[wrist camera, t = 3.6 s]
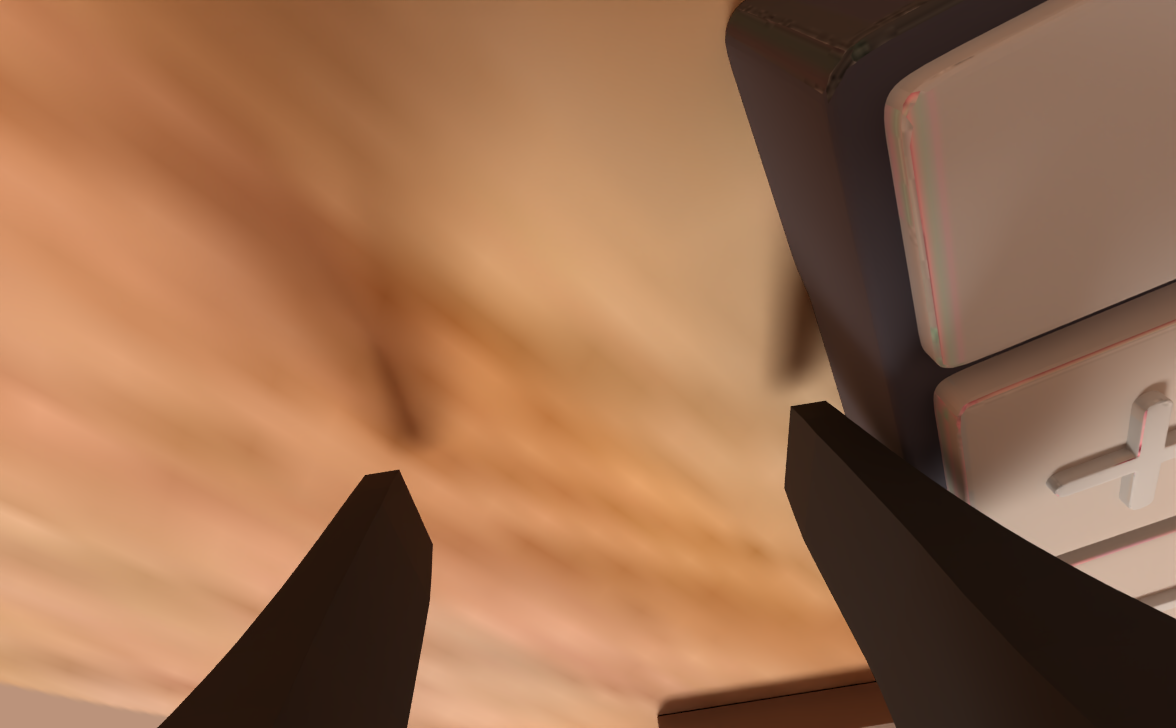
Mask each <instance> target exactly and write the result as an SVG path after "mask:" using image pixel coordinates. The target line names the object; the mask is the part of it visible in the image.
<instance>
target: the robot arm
mask: <svg viewBox="0 0 1176 728" xmlns="http://www.w3.org/2000/svg"><path fill="white" fill-rule="evenodd" d="M784 488H785V491H786V494H787V497H788V499H789V502H790V505H791V508H792V510H793V513H794V516H795V519H796V521H797V524H798V526H799V529H800V531H801V534H802V537H803V539H804V541H805V543H806V545H807V547H808V549H809V551H810V553H811V555H812V557H813V559H814V561H815V563H816V565H817V567H818V569H819V571H820V573H821V575H822V576H823V578H824V580H825V582H826V584H827V586H828V588H829V590H830V592H831V594H832V596H833V597H834V599H835V601H836V603H837V605H838V607H839V609H840V611H841V613H842V615H843V617H844V618H845V620H846V622H847V624H848V626H849V628H850V630H851V632H852V634H853V636H854V637H855V639H856V641H857V643H858V645H859V647H860V649H861V651H862V653H863V655H864V657H865V658H866V660H867V663H868V665H869V667H870V669H871V671H872V673H873V675H874V677H875V679H876V681H877V684H878V686H879V688H880V690H881V693H882V695H883V697H884V700H885V702H886V705H887V707H888V709H889V712H890V714H891V717H892V719H893V722H894V724H895V726H896V728H1176V619H1175V618H1173V617H1171V616H1169V615H1167V614H1165V613H1163V612H1161V611H1159V610H1157V609H1155V608H1153V607H1151V606H1149V605H1147V604H1145V603H1143V602H1141V601H1139V600H1137V599H1135V598H1133V597H1131V596H1129V595H1127V594H1125V593H1123V592H1121V591H1119V590H1117V589H1115V588H1113V587H1111V586H1109V585H1107V584H1105V583H1103V582H1101V581H1099V580H1097V579H1096V578H1094V577H1092V576H1090V575H1088V574H1086V573H1084V572H1082V571H1080V570H1079V569H1077V568H1075V567H1073V566H1072V565H1070V564H1068V563H1066V562H1064V561H1063V560H1061V559H1059V558H1057V557H1055V556H1054V555H1052V554H1050V553H1048V552H1047V551H1045V550H1043V549H1041V548H1039V547H1038V546H1036V545H1034V544H1032V543H1031V542H1029V541H1027V540H1025V539H1024V538H1022V537H1020V536H1019V535H1017V534H1015V533H1014V532H1012V531H1010V530H1009V529H1007V528H1005V527H1004V526H1002V525H1001V524H999V523H997V522H996V521H994V520H993V519H991V518H990V517H988V516H986V515H985V514H983V513H982V512H980V511H979V510H977V509H975V508H974V507H972V506H971V505H969V504H968V503H966V502H964V501H963V500H961V499H960V498H958V497H957V496H955V495H954V494H952V493H951V492H949V491H948V490H947V489H945V488H944V487H942V486H941V485H939V484H938V483H936V482H935V481H933V480H932V479H930V478H929V477H928V476H926V475H925V474H923V473H922V472H921V471H919V470H918V469H916V468H915V467H914V466H912V465H911V464H909V463H908V462H907V461H905V460H904V459H902V458H901V457H900V456H898V455H897V454H896V453H894V452H893V451H892V450H890V449H889V448H888V447H886V446H885V445H883V444H882V443H881V442H879V441H878V440H877V439H875V438H874V437H873V436H871V435H870V434H869V433H868V432H866V431H865V430H864V429H862V428H861V427H860V426H858V425H857V424H856V423H854V422H853V421H852V420H850V419H849V418H848V417H846V416H845V415H844V414H843V413H841V412H840V411H839V410H837V409H836V408H835V407H833V406H832V405H831V404H829V403H828V402H826V401H821V402H815V403H809V404H802V405H796V406H791V410H790V423H789V435H788V448H787V461H786V473H785V486H784ZM432 551H433V544H432V542H431V539H430V537H429V535H428V533H427V531H426V528H425V526H424V524H423V522H422V519H421V517H420V515H419V513H418V510H417V508H416V506H415V504H414V502H413V499H412V497H411V495H410V493H409V490H408V488H407V486H406V484H405V481H404V479H403V477H402V475H401V473H400V470H394V471H388V472H382V473H376V474H369V475H365V476H364V477H363V479H362V480H361V481H360V483H359V484H358V485H357V487H356V488H355V489H354V491H353V492H352V493H351V495H350V496H349V497H348V499H347V500H346V502H345V503H344V504H343V506H342V507H341V508H340V510H339V511H338V513H337V514H336V515H335V517H334V518H333V519H332V521H331V522H330V524H329V525H328V526H327V528H326V529H325V530H324V532H323V533H322V535H321V536H320V537H319V539H318V540H317V541H316V543H315V544H314V546H313V547H312V548H311V550H310V551H309V552H308V553H307V555H306V556H305V557H304V559H303V560H302V561H301V563H300V564H299V565H298V567H297V568H296V569H295V571H294V572H293V573H292V575H291V576H290V577H289V579H288V580H287V581H286V583H285V584H284V585H283V586H282V588H281V589H280V590H279V592H278V593H277V594H276V595H275V596H274V598H273V599H272V600H271V601H270V603H269V604H268V605H267V606H266V607H265V609H264V610H263V611H262V612H261V614H260V615H259V616H258V617H257V618H256V620H255V621H254V622H253V623H252V625H251V626H250V627H249V628H248V630H247V631H246V632H245V633H244V634H243V636H242V637H241V638H240V639H239V640H238V642H237V643H236V644H235V645H234V646H233V647H232V649H231V650H230V651H229V652H228V653H227V654H226V655H225V657H224V658H223V659H222V660H221V661H220V662H219V663H218V664H217V665H216V667H215V668H214V669H213V670H212V671H211V672H210V673H209V674H208V675H207V676H206V678H205V679H204V680H203V681H202V682H201V683H200V684H199V685H198V686H197V687H196V688H195V689H194V690H193V691H192V692H191V694H190V695H189V696H188V697H187V698H186V699H185V700H184V701H183V702H182V703H181V704H180V705H179V706H178V707H177V708H176V709H175V710H174V711H173V713H172V714H171V715H170V716H169V717H168V718H167V719H166V720H165V721H164V722H163V723H162V724H161V725H160V726H159V727H158V728H407V725H408V719H409V714H410V708H411V703H412V697H413V692H414V686H415V681H416V675H417V670H418V664H419V659H420V653H421V648H422V642H423V637H424V631H425V625H426V620H427V614H428V608H429V602H430V589H431V574H432Z"/></svg>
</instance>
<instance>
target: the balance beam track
mask: <svg viewBox="0 0 1176 728" xmlns="http://www.w3.org/2000/svg"><path fill="white" fill-rule="evenodd" d="M658 724H659V728H896V726H895V724H894V722H893V719H892V717H891V714H890V712H889V709H888V707H887V705H886V702H885V700H884V697H883V695H882V693H881V690H880V688H879V686H878V684H877V682H874V683H868V684H861V685H855V686H849V687H842V688H836V689H830V690H823V691H817V692H811V693H804V694H798V695H792V696H785V697H779V698H773V699H766V700H760V701H754V702H747V703H741V704H735V705H728V706H722V707H716V708H709V709H703V710H697V711H690V712H684V713H678V714H671V715H665V716H659V717H658Z"/></svg>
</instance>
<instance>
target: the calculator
mask: <svg viewBox="0 0 1176 728" xmlns="http://www.w3.org/2000/svg"><path fill="white" fill-rule="evenodd" d="M725 43H726V48H727V53H728V57H729V60H730V64H731V68H732V71H733V74H734V77H735V80H736V83H737V86H738V89H739V92H740V96H741V99H742V102H743V105H744V108H745V111H746V114H747V117H748V120H749V123H750V126H751V129H752V133H753V136H754V139H755V142H756V145H757V148H758V151H759V154H760V157H761V160H762V163H763V167H764V170H765V173H766V176H767V179H768V182H769V185H770V188H771V191H772V194H773V197H774V200H775V204H776V207H777V210H778V213H779V216H780V219H781V222H782V225H783V228H784V231H785V234H786V237H787V241H788V244H789V247H790V250H791V253H792V256H793V259H794V261H795V264H796V267H797V270H798V272H799V274H800V276H801V278H802V281H803V283H804V285H805V287H806V290H807V292H808V294H809V297H810V300H811V303H812V306H813V309H814V313H815V316H816V319H817V323H818V326H819V329H820V333H821V336H822V339H823V342H824V346H825V349H826V352H827V356H828V359H829V362H830V366H831V369H832V372H833V376H834V379H835V382H836V386H837V389H838V392H839V395H840V399H841V402H842V405H843V409H844V412H845V415H846V417H848V418H849V419H850V420H852V421H853V422H854V423H856V424H857V425H858V426H860V427H861V428H862V429H864V430H865V431H866V432H868V433H869V434H870V435H871V436H873V437H874V438H875V439H877V440H878V441H879V442H881V443H882V444H883V445H885V446H886V447H888V448H889V449H890V450H892V451H893V452H894V453H896V454H897V455H898V456H900V457H901V458H902V459H904V460H905V461H907V462H908V463H909V464H911V465H912V466H914V467H915V468H916V469H918V470H919V471H921V472H922V473H923V474H925V475H926V476H928V477H929V478H930V479H932V480H933V481H935V482H936V483H938V484H939V485H941V486H942V487H944V488H945V489H947V490H948V491H949V492H951V493H952V494H954V495H955V496H957V497H958V498H960V499H961V500H963V501H964V502H966V503H968V504H969V505H971V506H972V507H974V508H975V509H977V510H979V511H980V512H982V513H983V514H985V515H986V516H988V517H990V518H991V519H993V520H994V521H996V522H997V523H999V524H1001V525H1002V526H1004V527H1005V528H1007V529H1009V530H1010V531H1012V532H1014V533H1015V534H1017V535H1019V536H1020V537H1022V538H1024V539H1025V540H1027V541H1029V542H1031V543H1032V544H1034V545H1036V546H1038V547H1039V548H1041V549H1043V550H1045V551H1047V552H1048V553H1050V554H1052V555H1054V556H1055V557H1057V558H1059V559H1061V560H1063V561H1064V562H1066V563H1068V564H1070V565H1072V566H1073V567H1075V568H1077V569H1079V570H1080V571H1082V572H1084V573H1086V574H1088V575H1090V576H1092V577H1094V578H1096V579H1097V580H1099V581H1101V582H1103V583H1105V584H1107V585H1109V586H1111V587H1113V588H1115V589H1117V590H1119V591H1121V592H1123V593H1125V594H1127V595H1129V596H1131V597H1133V598H1135V599H1137V600H1139V601H1141V602H1143V603H1145V604H1147V605H1149V606H1151V607H1153V608H1155V609H1157V610H1159V611H1161V612H1163V613H1165V614H1167V615H1169V616H1171V617H1173V618H1175V619H1176V0H745V1H743V2H742V3H741V4H740V5H739V6H738V7H737V8H736V9H735V11H734V12H733V14H732V16H731V17H730V20H729V22H728V25H727V29H726V36H725Z"/></svg>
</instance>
